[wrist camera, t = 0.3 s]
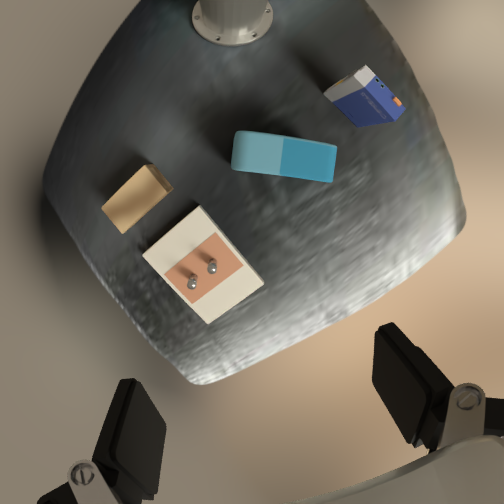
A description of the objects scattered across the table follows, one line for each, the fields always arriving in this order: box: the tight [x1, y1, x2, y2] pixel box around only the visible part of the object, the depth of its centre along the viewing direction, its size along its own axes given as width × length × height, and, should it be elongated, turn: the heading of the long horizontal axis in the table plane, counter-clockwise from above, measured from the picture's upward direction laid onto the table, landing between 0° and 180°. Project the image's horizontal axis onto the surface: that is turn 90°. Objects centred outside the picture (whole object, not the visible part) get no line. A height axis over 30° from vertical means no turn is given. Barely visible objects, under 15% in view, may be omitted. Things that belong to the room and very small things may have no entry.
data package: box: [231, 131, 337, 183], centre depth 36 cm, size 12×4×12 cm, turn 83°
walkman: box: [323, 65, 405, 127], centre depth 34 cm, size 8×3×12 cm, turn 50°
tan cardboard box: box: [101, 164, 174, 234], centre depth 39 cm, size 5×9×5 cm, turn 128°
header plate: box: [142, 205, 264, 324], centre depth 45 cm, size 16×12×2 cm
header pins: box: [187, 258, 217, 290], centre depth 43 cm, size 1×5×3 cm, turn 128°
